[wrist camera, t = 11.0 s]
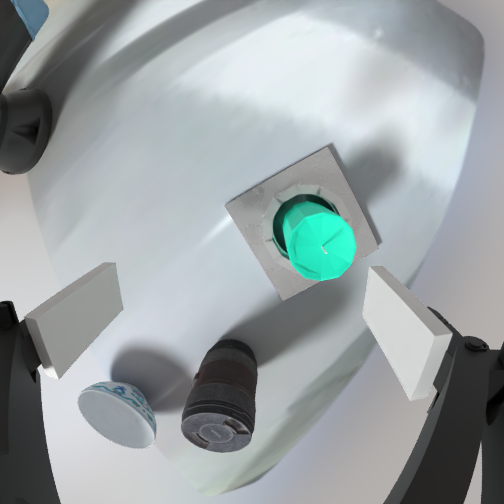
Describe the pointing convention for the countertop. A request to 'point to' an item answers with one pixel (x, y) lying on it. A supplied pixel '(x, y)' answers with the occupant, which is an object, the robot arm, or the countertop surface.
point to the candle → (318, 241)
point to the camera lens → (222, 399)
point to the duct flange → (281, 201)
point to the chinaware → (119, 414)
